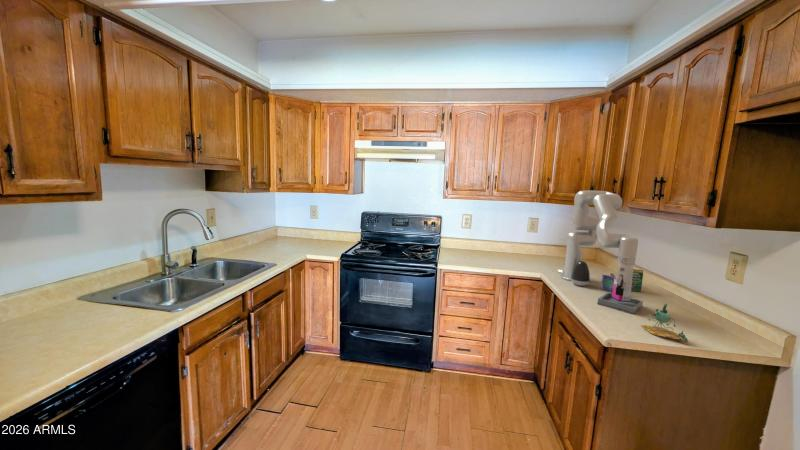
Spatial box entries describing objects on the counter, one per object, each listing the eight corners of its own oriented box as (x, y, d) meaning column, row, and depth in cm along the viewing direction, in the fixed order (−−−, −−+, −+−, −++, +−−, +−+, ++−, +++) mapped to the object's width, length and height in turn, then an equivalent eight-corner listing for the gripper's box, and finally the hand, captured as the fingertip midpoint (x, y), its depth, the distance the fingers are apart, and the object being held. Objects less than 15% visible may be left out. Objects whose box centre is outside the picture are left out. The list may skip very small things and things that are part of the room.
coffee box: (624, 290, 186) (627, 269, 184) (623, 288, 189) (626, 267, 187) (641, 292, 183) (644, 271, 181) (639, 291, 185) (642, 269, 184)
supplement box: (622, 297, 165) (625, 277, 163) (630, 302, 159) (633, 280, 157) (611, 297, 165) (614, 276, 163) (618, 301, 159) (621, 280, 157)
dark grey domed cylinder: (586, 282, 197) (588, 259, 195) (591, 288, 188) (594, 264, 185) (568, 281, 200) (571, 258, 198) (572, 286, 190) (575, 262, 188)
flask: (599, 289, 186) (602, 270, 185) (602, 288, 188) (605, 270, 186) (616, 295, 177) (619, 275, 176) (620, 294, 179) (622, 275, 177)
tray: (597, 304, 163) (598, 298, 162) (607, 297, 173) (607, 292, 173) (634, 314, 151) (635, 308, 150) (642, 306, 161) (643, 301, 161)
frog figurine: (677, 347, 121) (678, 310, 121) (633, 330, 139) (633, 298, 138) (695, 345, 123) (696, 308, 123) (649, 328, 141) (650, 296, 140)
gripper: (630, 265, 150) (625, 299, 153) (639, 259, 162) (634, 291, 164) (612, 261, 156) (607, 294, 158) (622, 256, 167) (617, 287, 170)
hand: (621, 293), depth 161 cm, fingers closed on supplement box, 8 cm apart
